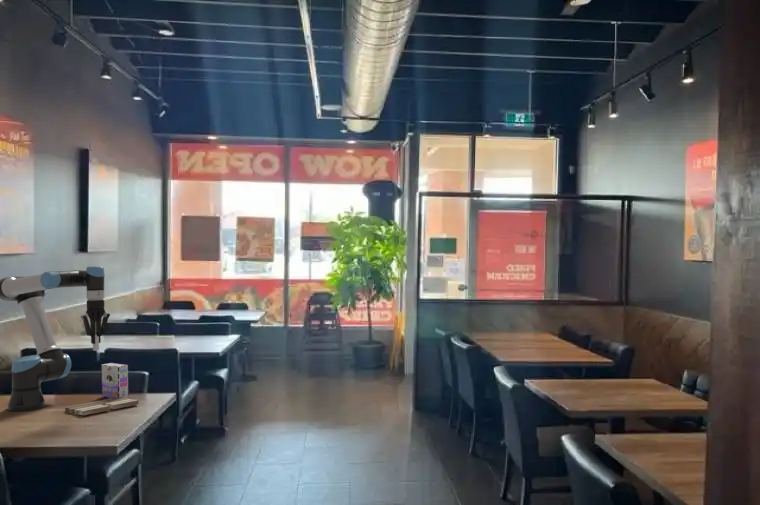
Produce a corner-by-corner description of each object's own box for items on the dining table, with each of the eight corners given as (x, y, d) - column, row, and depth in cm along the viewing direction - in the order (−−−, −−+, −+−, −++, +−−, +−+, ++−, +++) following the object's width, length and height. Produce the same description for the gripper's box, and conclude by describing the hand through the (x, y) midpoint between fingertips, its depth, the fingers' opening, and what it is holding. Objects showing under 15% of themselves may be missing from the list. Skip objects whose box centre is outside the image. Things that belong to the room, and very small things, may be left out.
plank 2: (105, 408, 292) (105, 403, 292) (129, 403, 301) (129, 398, 301) (114, 409, 286) (114, 404, 286) (138, 404, 295) (138, 400, 296)
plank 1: (74, 414, 281) (74, 409, 281) (100, 408, 290) (100, 404, 290) (83, 415, 276) (83, 410, 276) (109, 410, 285) (109, 405, 285)
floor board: (65, 411, 285) (64, 407, 285) (121, 400, 306) (121, 396, 306) (72, 414, 281) (72, 409, 281) (129, 402, 301) (129, 398, 301)
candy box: (128, 398, 312) (128, 364, 312) (118, 400, 307) (118, 366, 307) (111, 394, 319) (111, 362, 320) (101, 397, 314) (100, 364, 315)
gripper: (85, 300, 285) (85, 353, 285) (113, 299, 295) (113, 349, 295) (77, 300, 290) (77, 351, 290) (105, 298, 300) (105, 348, 300)
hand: (95, 350), depth 293 cm, fingers closed
